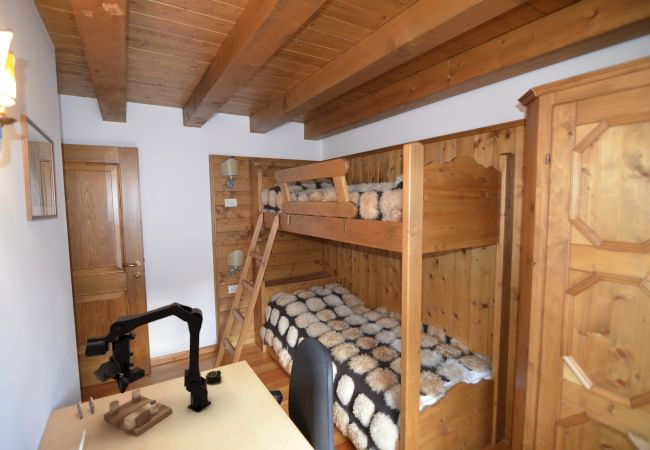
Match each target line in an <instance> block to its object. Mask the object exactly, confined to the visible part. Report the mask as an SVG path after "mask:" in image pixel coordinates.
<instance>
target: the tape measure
mask: <svg viewBox="0 0 650 450" xmlns="http://www.w3.org/2000/svg"><path fill="white" fill-rule="evenodd" d="M221 374H222V371H221V370H211V371H209V372H207V374H206V375H205V379H206V383H207V384H209V385H214V384H218V383H220V382H221V381H222V375H221Z"/></svg>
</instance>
